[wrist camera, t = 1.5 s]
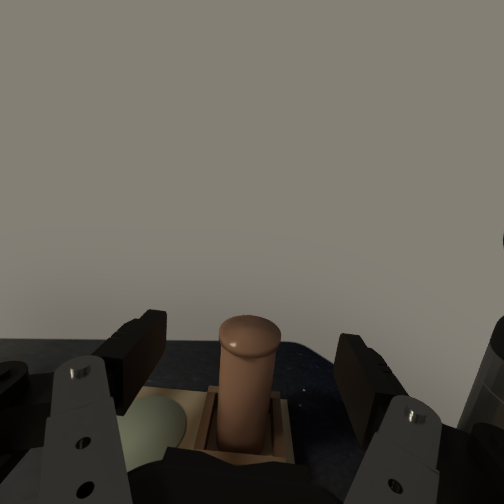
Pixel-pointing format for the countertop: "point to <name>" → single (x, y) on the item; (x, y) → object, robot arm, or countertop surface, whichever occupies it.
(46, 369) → the countertop surface
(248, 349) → the tall brown tankard
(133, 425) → the board
